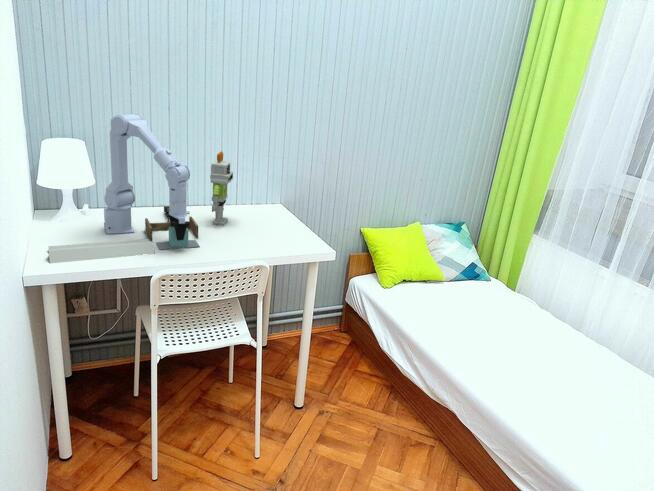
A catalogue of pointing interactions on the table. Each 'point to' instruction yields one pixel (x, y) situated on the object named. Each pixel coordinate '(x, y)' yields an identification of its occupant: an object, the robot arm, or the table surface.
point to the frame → (165, 226)
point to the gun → (166, 209)
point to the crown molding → (99, 250)
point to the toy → (220, 187)
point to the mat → (167, 246)
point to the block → (173, 239)
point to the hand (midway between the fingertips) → (178, 236)
